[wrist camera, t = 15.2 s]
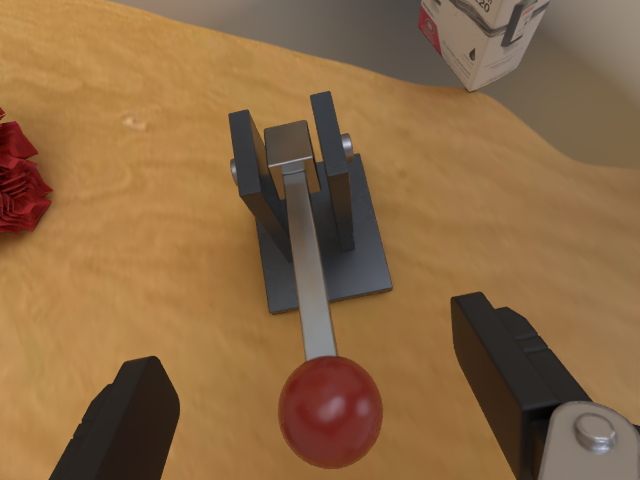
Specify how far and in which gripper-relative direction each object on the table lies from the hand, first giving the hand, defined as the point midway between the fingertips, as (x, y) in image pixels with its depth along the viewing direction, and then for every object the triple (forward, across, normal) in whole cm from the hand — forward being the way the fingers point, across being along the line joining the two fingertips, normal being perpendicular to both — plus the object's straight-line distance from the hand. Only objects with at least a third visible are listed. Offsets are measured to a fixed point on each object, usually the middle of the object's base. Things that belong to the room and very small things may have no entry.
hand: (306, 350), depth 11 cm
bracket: (+20, 0, +6) cm, 21 cm away
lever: (+7, 0, +2) cm, 7 cm away
